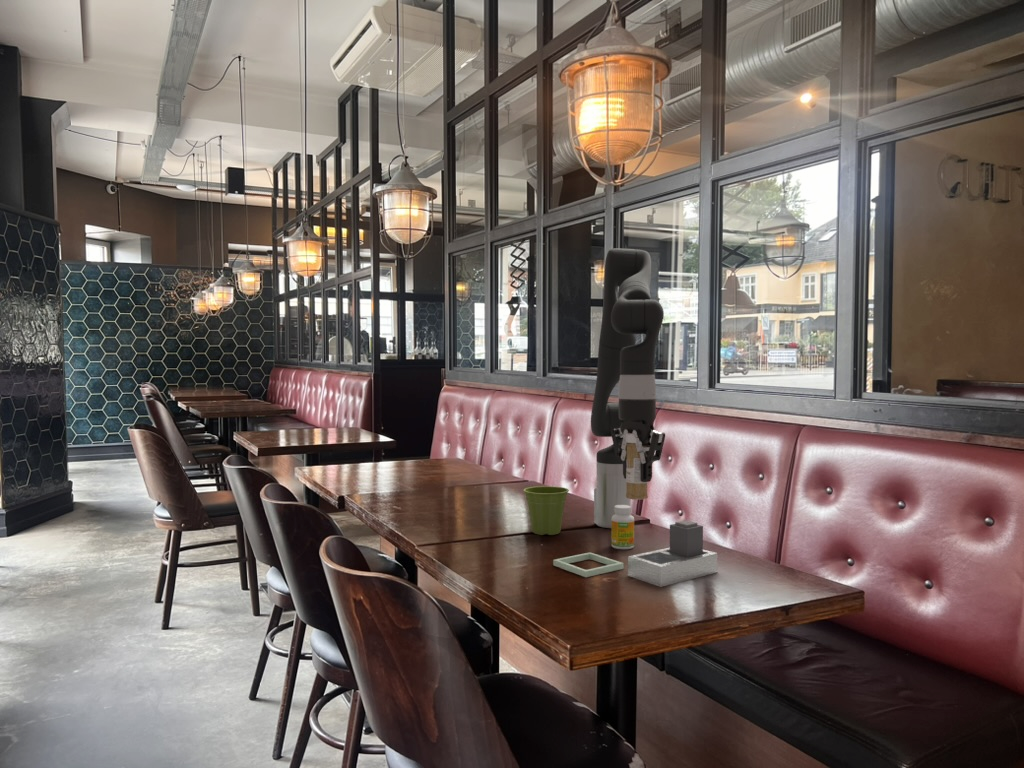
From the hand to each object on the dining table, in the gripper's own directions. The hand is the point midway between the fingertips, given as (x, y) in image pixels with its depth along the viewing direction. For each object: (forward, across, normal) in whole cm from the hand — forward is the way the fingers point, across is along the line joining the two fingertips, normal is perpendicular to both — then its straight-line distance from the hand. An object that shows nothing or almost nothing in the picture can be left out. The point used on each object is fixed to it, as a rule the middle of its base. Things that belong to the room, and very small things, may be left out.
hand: (637, 479), depth 143 cm
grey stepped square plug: (+20, -3, -11) cm, 23 cm away
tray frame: (+20, +10, +5) cm, 23 cm away
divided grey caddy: (+20, -4, -7) cm, 21 cm away
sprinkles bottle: (+4, 0, 0) cm, 4 cm away
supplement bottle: (+20, +19, -13) cm, 30 cm away
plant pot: (+20, +40, -7) cm, 45 cm away
